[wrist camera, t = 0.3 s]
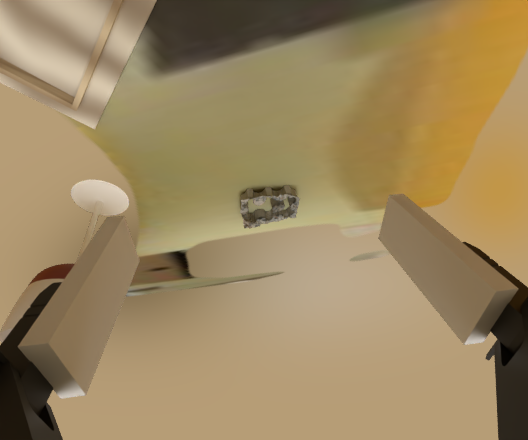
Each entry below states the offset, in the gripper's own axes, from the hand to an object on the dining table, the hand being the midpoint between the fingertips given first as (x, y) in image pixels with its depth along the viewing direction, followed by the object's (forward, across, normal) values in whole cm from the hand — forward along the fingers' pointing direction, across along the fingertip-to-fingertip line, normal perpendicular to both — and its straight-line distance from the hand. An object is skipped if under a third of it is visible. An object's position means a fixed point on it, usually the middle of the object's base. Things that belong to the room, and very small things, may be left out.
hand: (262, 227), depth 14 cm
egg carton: (+35, +5, -17) cm, 39 cm away
